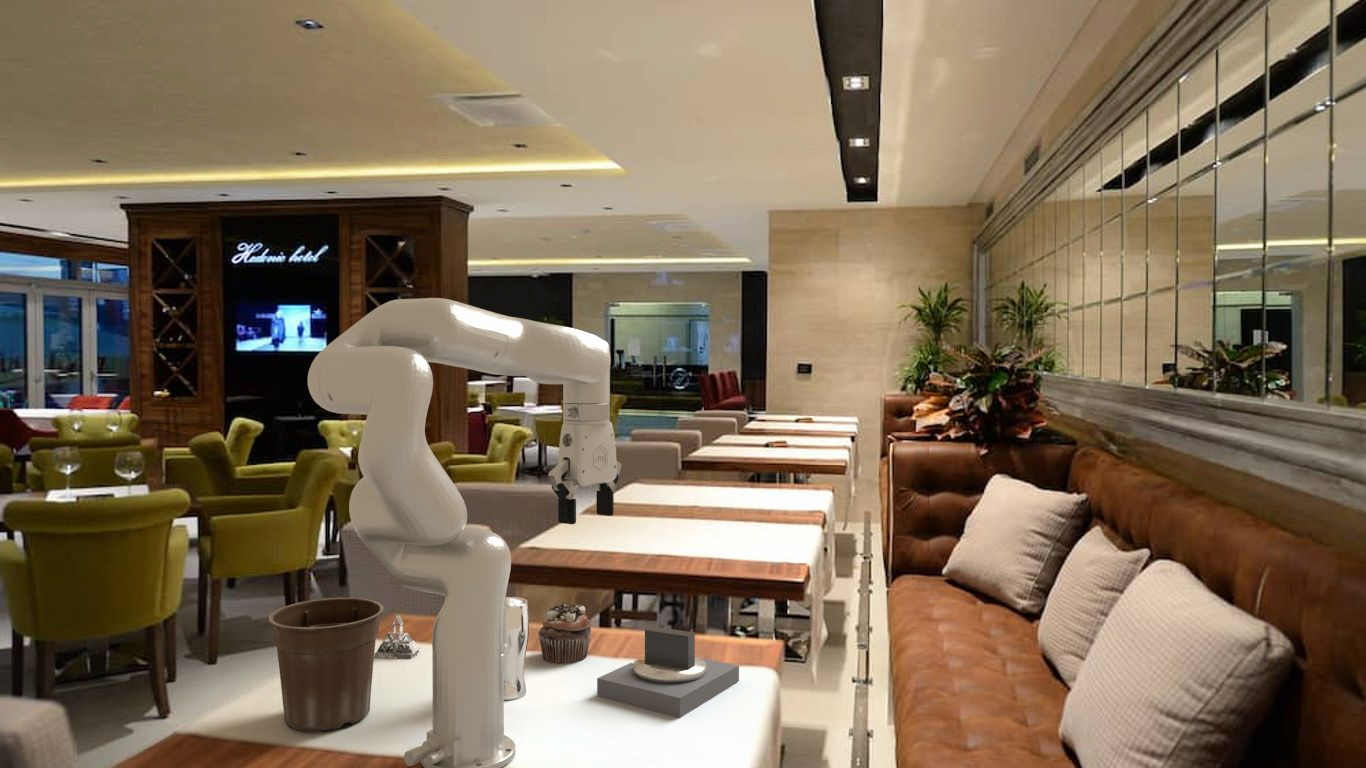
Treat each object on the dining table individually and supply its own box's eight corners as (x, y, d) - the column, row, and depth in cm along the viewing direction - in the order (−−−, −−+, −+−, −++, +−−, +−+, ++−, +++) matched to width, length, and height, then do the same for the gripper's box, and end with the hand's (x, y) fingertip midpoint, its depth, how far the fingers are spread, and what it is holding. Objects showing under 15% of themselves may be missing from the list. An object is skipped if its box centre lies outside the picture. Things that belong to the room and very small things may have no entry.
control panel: (680, 717, 140) (680, 696, 139) (597, 696, 148) (597, 676, 148) (738, 683, 155) (739, 664, 155) (660, 666, 163) (660, 648, 163)
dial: (717, 665, 154) (717, 626, 154) (686, 687, 143) (686, 646, 143) (654, 655, 159) (654, 617, 159) (619, 675, 149) (619, 635, 149)
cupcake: (596, 651, 172) (596, 598, 171) (583, 668, 162) (583, 612, 162) (547, 649, 173) (547, 596, 173) (531, 665, 164) (531, 609, 163)
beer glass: (519, 703, 145) (519, 608, 145) (478, 700, 147) (478, 606, 146) (535, 687, 152) (535, 597, 152) (495, 684, 154) (495, 595, 153)
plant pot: (376, 733, 133) (376, 623, 133) (257, 742, 130) (256, 629, 130) (389, 694, 149) (388, 595, 149) (283, 701, 146) (282, 600, 146)
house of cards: (439, 647, 175) (438, 607, 175) (421, 662, 166) (420, 619, 166) (393, 645, 176) (393, 605, 176) (373, 660, 167) (372, 618, 167)
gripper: (569, 417, 140) (569, 529, 141) (636, 412, 155) (636, 514, 155) (532, 416, 145) (533, 524, 145) (601, 411, 159) (601, 510, 159)
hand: (586, 519), depth 150 cm, fingers open, 9 cm apart
